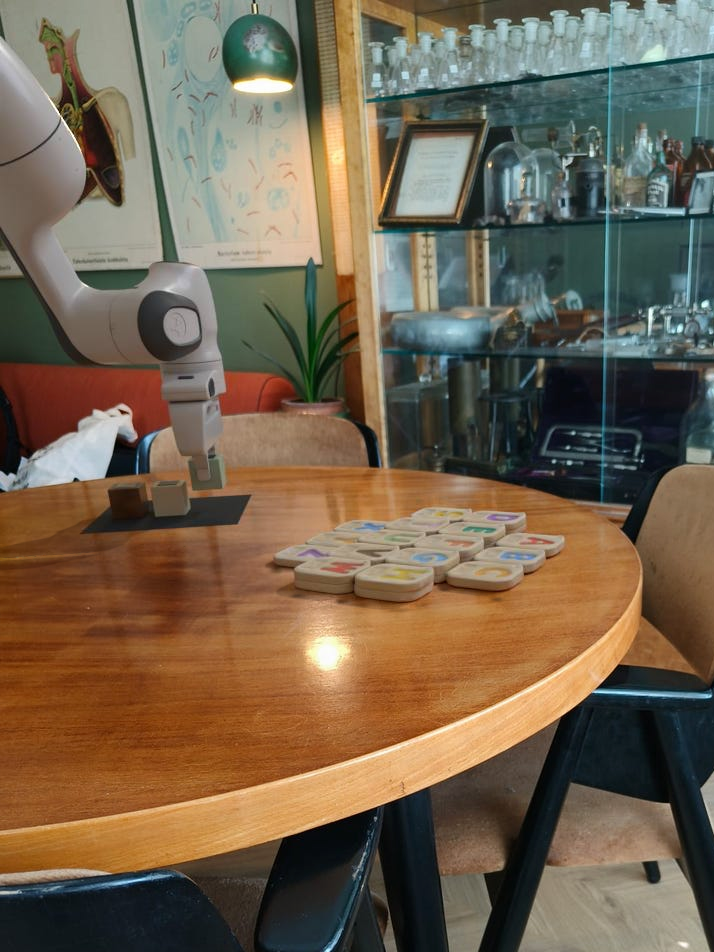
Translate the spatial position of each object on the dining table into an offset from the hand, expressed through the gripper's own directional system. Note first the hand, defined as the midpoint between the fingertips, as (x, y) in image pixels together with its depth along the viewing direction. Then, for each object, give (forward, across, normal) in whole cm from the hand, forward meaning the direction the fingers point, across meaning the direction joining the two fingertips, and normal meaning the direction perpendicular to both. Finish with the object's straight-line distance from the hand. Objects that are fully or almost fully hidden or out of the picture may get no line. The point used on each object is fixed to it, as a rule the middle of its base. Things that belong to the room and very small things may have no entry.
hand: (208, 476), depth 134 cm
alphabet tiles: (+6, +31, +30) cm, 43 cm away
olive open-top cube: (+2, 0, 0) cm, 2 cm away
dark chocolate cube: (+5, 0, -12) cm, 13 cm away
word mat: (+6, 0, -6) cm, 8 cm away
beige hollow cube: (+5, 0, -6) cm, 8 cm away
